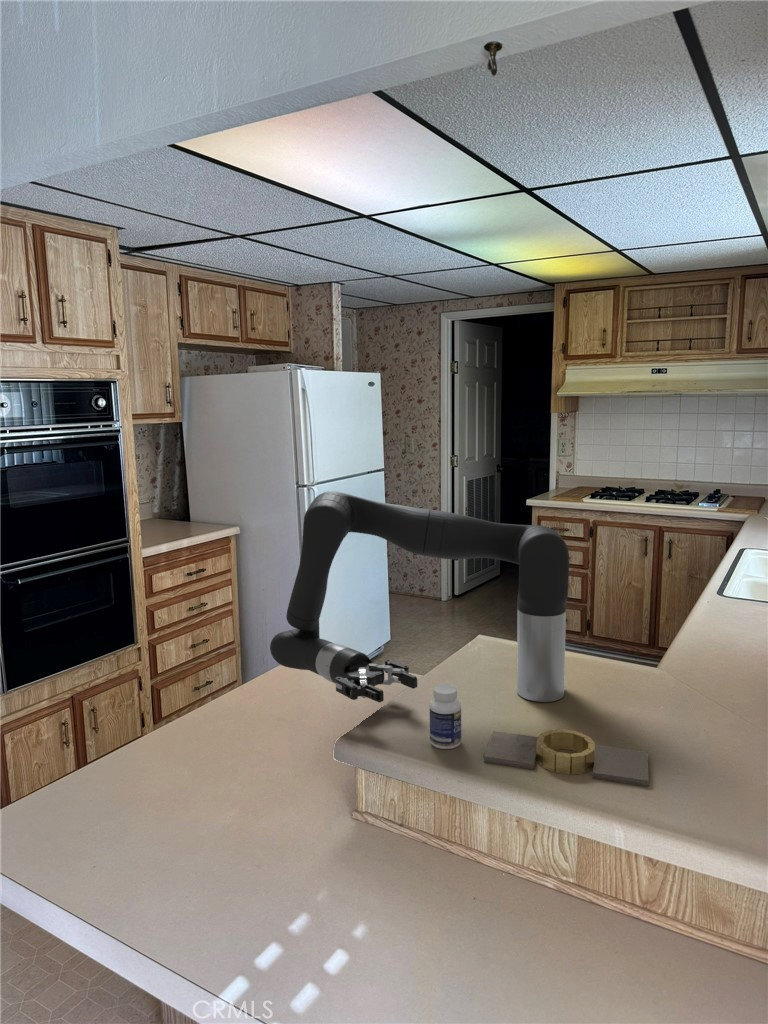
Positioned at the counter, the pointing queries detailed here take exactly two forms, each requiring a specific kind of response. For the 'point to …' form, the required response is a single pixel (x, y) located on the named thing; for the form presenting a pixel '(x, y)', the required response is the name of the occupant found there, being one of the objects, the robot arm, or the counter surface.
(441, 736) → the pill bottle
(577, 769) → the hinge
